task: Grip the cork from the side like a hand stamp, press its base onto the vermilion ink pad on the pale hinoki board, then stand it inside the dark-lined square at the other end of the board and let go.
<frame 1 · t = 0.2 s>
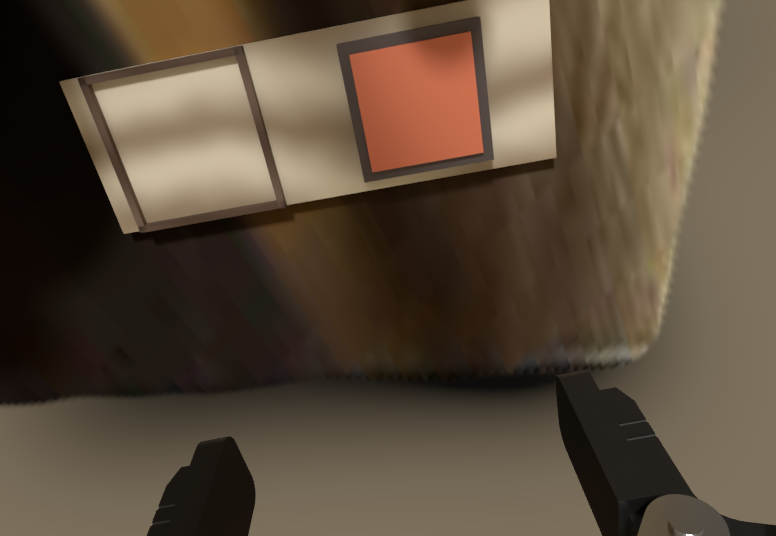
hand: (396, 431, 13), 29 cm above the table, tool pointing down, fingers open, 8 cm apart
stamping board: (317, 118, 38), on the table
ink pad: (416, 99, 38), resting on stamping board
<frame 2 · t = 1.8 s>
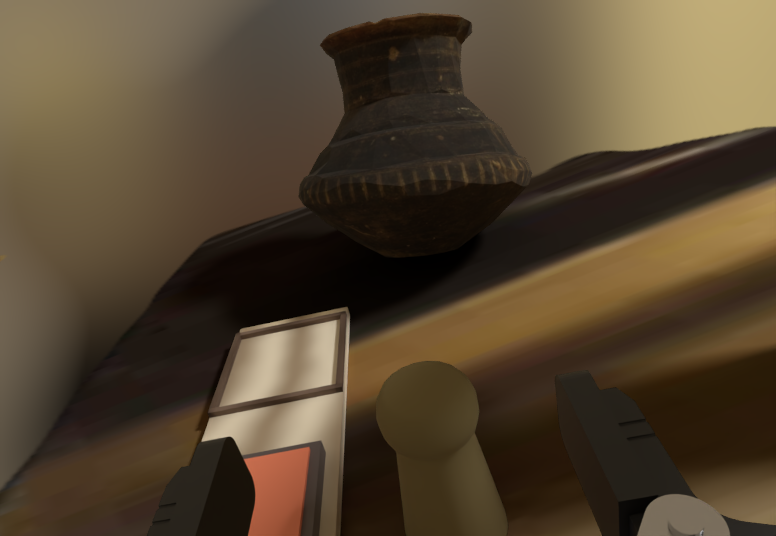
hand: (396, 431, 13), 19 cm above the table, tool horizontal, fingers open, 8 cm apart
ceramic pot: (428, 252, 63), on the table
stamping board: (273, 447, 41), on the table
cork: (456, 527, 32), on the table
ink pad: (256, 531, 35), resting on stamping board
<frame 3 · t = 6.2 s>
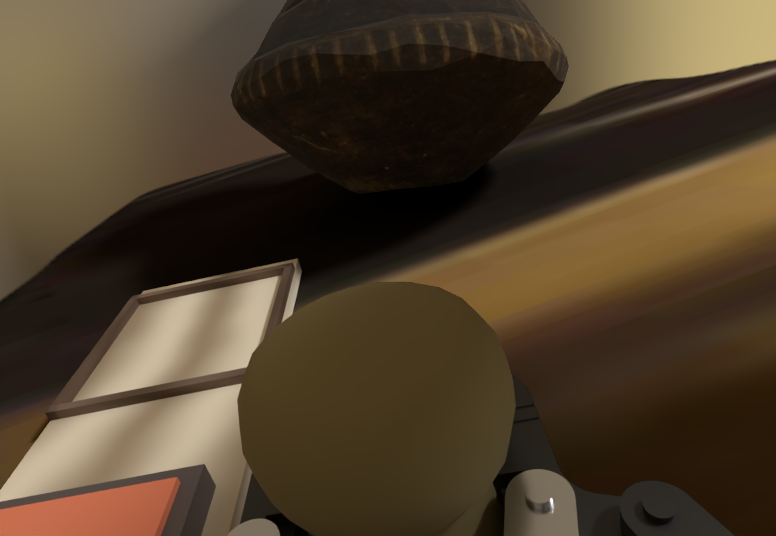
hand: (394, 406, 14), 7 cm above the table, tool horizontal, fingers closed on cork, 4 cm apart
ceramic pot: (420, 194, 46), on the table
stamping board: (139, 472, 24), on the table
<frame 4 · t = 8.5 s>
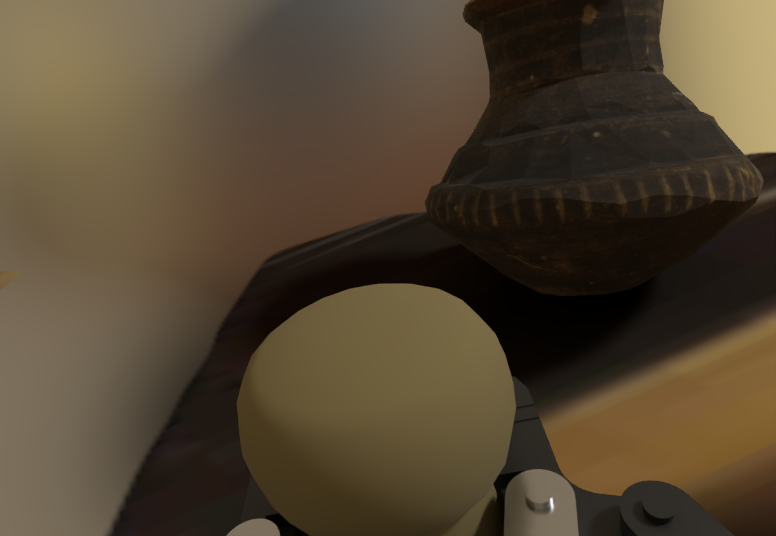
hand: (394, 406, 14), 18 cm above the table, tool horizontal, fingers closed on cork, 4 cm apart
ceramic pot: (582, 284, 48), on the table
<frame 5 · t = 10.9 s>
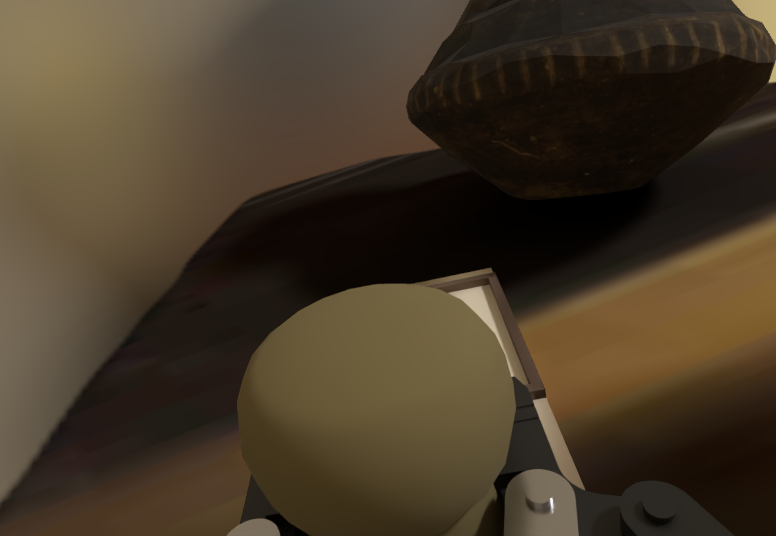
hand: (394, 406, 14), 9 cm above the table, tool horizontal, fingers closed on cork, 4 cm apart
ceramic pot: (578, 200, 44), on the table
stamping board: (437, 499, 22), on the table
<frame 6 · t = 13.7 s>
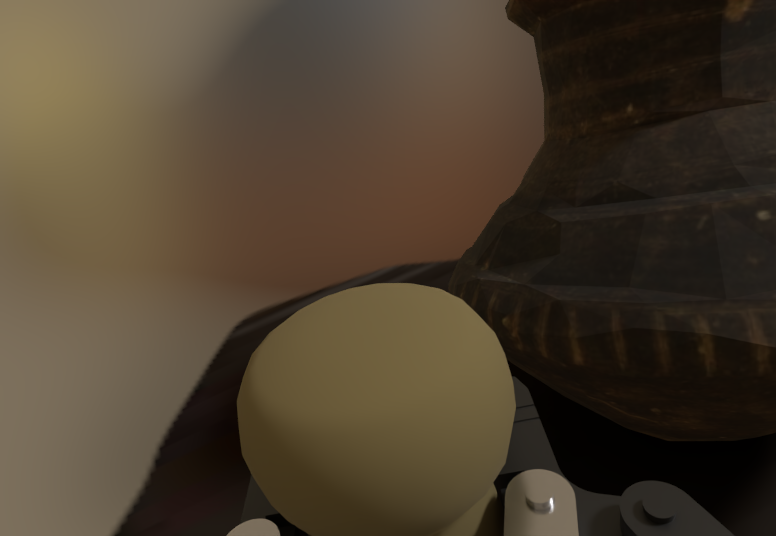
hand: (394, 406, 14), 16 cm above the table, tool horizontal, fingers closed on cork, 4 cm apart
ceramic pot: (673, 396, 34), on the table
when the fingers open (8 cm above the table, at t = 15.7 s): cork moves 2 cm, resting on stamping board.
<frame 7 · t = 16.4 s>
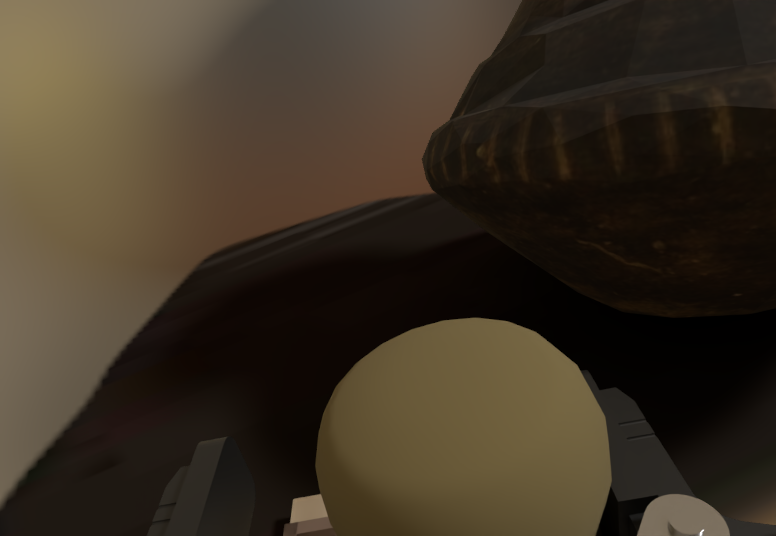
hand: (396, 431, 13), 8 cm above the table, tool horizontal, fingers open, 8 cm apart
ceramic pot: (677, 295, 30), on the table
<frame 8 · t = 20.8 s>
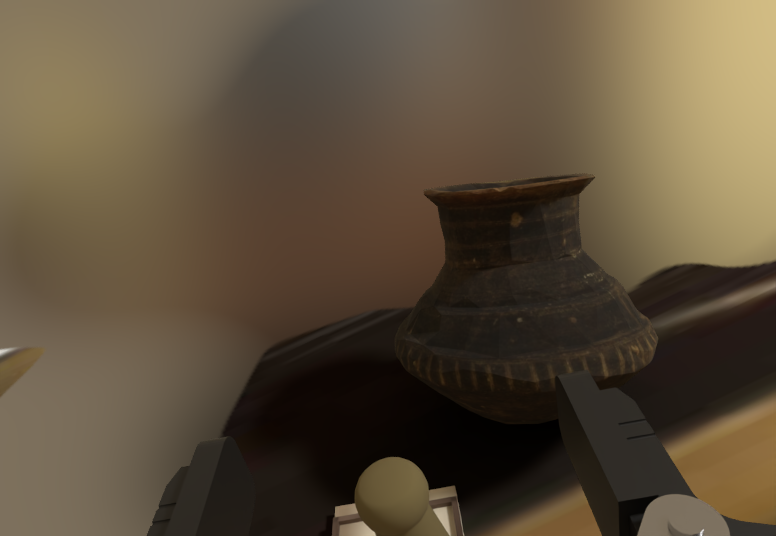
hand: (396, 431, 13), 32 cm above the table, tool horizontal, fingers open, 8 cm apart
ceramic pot: (527, 400, 58), on the table
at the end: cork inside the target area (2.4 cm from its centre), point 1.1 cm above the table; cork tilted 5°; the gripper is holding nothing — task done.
